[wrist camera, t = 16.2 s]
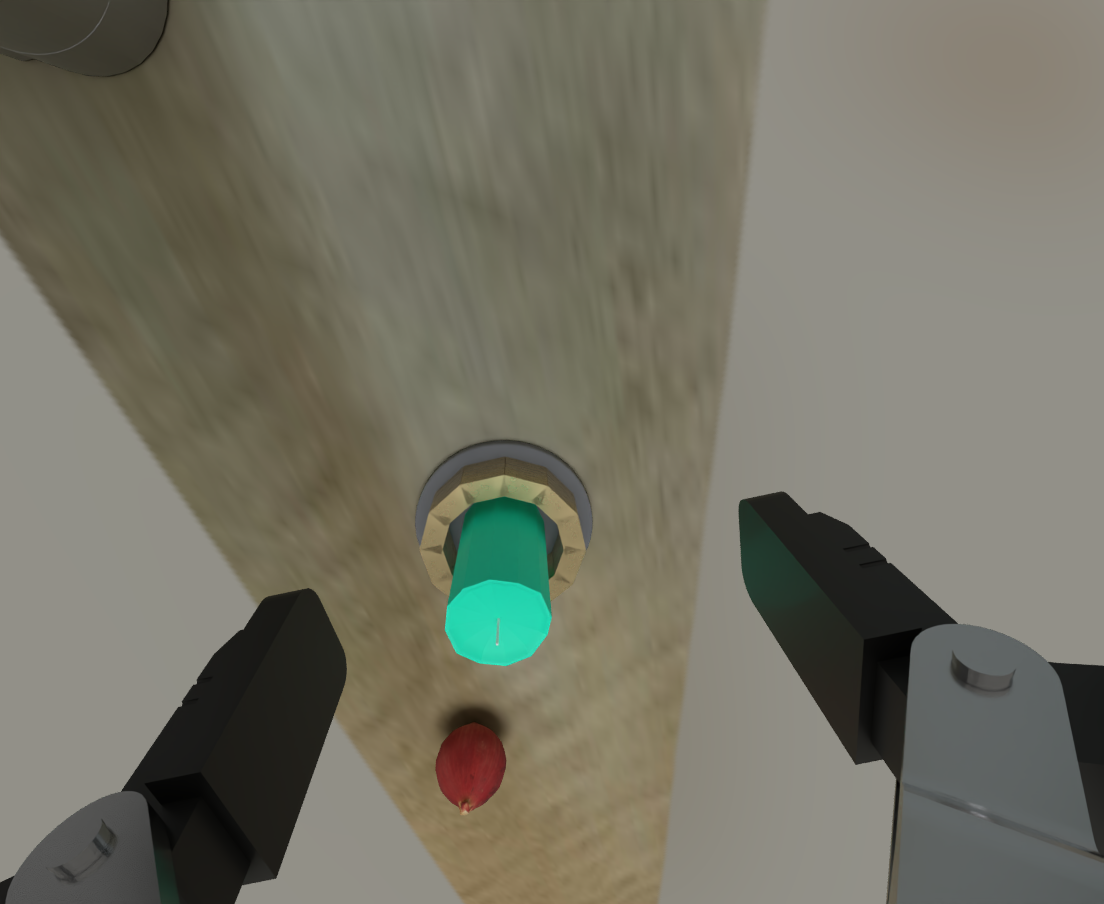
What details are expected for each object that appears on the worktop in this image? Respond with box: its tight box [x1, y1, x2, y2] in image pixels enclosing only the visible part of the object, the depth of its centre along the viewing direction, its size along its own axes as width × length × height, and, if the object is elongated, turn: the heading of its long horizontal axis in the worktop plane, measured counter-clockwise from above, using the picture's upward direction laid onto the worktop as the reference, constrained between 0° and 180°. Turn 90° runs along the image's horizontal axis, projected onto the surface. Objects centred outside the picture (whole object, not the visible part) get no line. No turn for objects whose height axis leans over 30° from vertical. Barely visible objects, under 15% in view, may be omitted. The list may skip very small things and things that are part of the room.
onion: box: [436, 722, 506, 815], centre depth 45 cm, size 6×6×8 cm
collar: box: [420, 457, 586, 602], centre depth 38 cm, size 11×11×3 cm
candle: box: [445, 496, 552, 666], centre depth 34 cm, size 6×6×12 cm
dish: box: [415, 440, 592, 555], centre depth 40 cm, size 13×13×1 cm
